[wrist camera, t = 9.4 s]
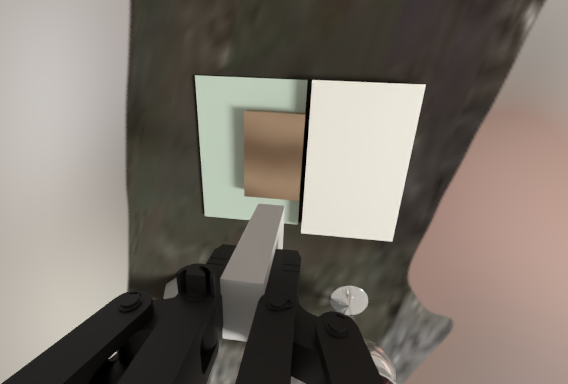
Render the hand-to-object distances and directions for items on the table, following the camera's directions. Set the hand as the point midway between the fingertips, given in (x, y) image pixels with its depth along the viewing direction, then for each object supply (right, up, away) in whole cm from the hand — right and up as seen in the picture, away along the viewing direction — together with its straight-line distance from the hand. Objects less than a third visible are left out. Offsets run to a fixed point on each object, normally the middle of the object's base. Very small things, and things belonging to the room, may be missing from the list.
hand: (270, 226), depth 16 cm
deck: (+8, +5, +14) cm, 17 cm away
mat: (-3, +6, +15) cm, 17 cm away
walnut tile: (0, +6, +14) cm, 16 cm away
